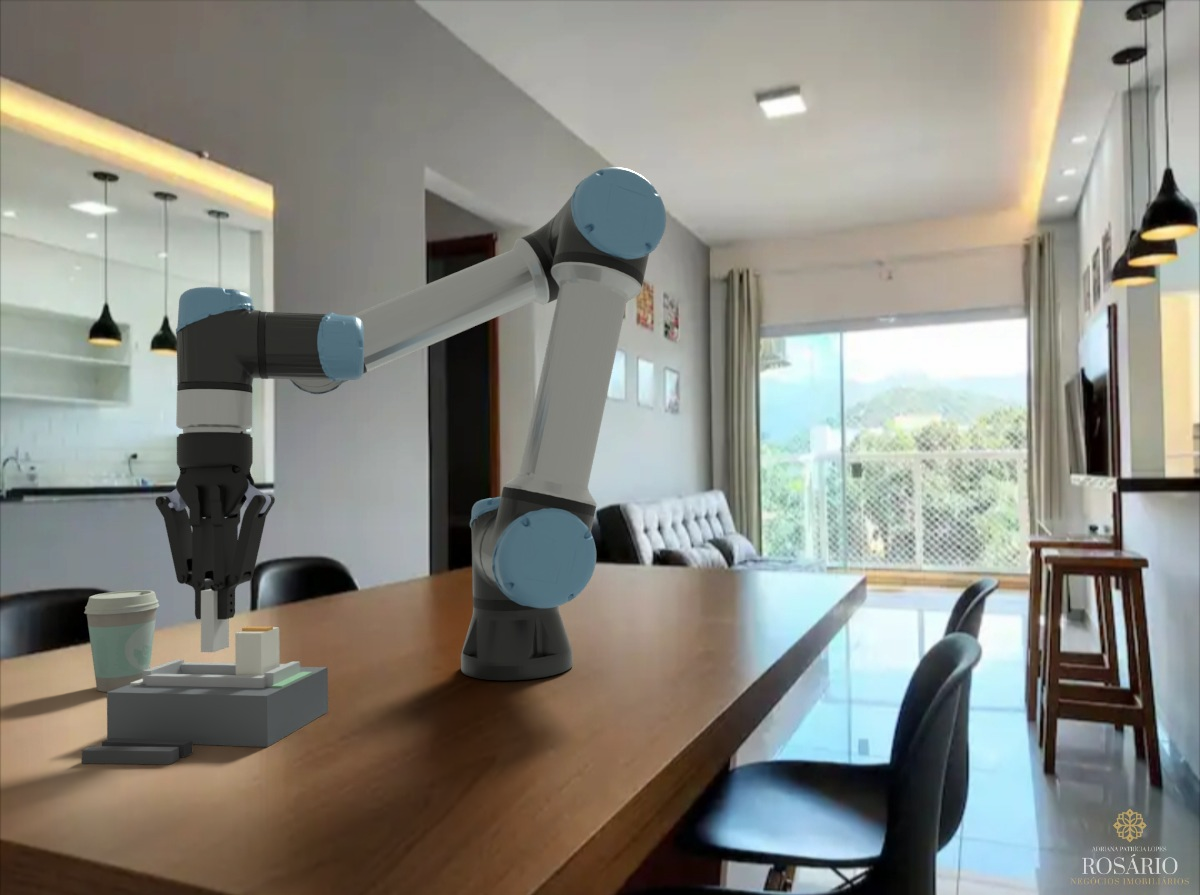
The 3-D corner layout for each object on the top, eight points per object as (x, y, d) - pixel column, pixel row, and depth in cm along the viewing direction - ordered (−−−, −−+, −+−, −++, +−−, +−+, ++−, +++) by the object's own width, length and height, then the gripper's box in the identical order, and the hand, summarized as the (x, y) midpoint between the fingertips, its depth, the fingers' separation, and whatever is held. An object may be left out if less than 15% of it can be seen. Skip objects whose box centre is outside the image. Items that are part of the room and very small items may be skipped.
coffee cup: (126, 696, 102) (125, 599, 102) (68, 694, 104) (67, 599, 104) (174, 678, 110) (174, 589, 111) (120, 677, 112) (119, 589, 113)
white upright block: (279, 673, 89) (279, 624, 89) (261, 681, 86) (261, 630, 86) (254, 672, 90) (254, 624, 90) (235, 680, 86) (235, 630, 87)
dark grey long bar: (192, 752, 80) (192, 740, 80) (184, 757, 78) (184, 744, 79) (110, 750, 81) (110, 737, 81) (101, 754, 80) (101, 741, 80)
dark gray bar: (178, 759, 78) (178, 746, 78) (171, 764, 77) (170, 751, 77) (90, 758, 79) (90, 746, 79) (81, 763, 78) (81, 750, 78)
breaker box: (328, 711, 93) (327, 654, 93) (267, 746, 81) (266, 681, 81) (185, 708, 96) (185, 653, 96) (107, 741, 84) (106, 678, 84)
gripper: (288, 432, 92) (289, 643, 91) (184, 435, 94) (183, 641, 93) (250, 428, 85) (250, 658, 84) (137, 431, 87) (136, 655, 86)
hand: (215, 649), depth 89 cm, fingers closed
